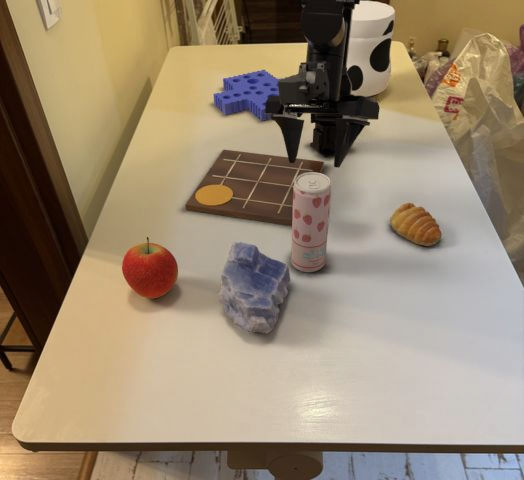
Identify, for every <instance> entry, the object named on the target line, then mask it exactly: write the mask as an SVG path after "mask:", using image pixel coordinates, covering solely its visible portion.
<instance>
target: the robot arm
mask: <svg viewBox="0 0 524 480" xmlns="http://www.w3.org/2000/svg"><path fill="white" fill-rule="evenodd" d="M360 1H361V0H300V5H301V7H302V11H301V14H300V19H299V21H300V28H301V32H302V34H303V35H304V38H305V40H306V42H307V47H306V55H305V56H306V59H305V62H300V65H298V73H296V74H292V75H290V76H286V77H287V78H285V77H284V79H281V78H280V79H281V80H279V81H277V82H278V90H279V96H270V97H269V98H268V99H267V101H266V104H265V114H270V115H273V116H270V120H271V121H275V123H276V124H277V126H278V127H279V129H280V130H281V131H280V132H281V134H282V137H283V141H284V145H285V150H286V155H287V157H288V159H289V162H290V163H295V160H296V158H297V157H298V153H299V148H300V143H301V139H302V135H303V129H304V125H305V119H300V118H301V117H302V116H303V115H304V114H310V124H314V127H313V130H312V131H313V132H312V142H310V143H309V146H310V148H312V149H314V151H315V152H317V153H318V154H319V155H321V156H322V157H324V158H329V157H334V158H333V167H334V168H337V169H338V168H340V167H341V166H342V164H343V162H344V160H345V158H346V157H347V155H348V153H349V152H350V150H351V148H352V147H353V144H354V143H355V142H356V141H357V138H358V137H359V136H360V135H361V133H362V131H363V130H364V128H365V127H366V126H371V120H372V121H373V120H374V121H378V120H379V114H380V104H379V102H378V99H376V98H374V97H371V98H369V97H365V96H354V94H351V92H352V84H351V81H350V79H349V76H348V74H347V59H348V50H349V41H350V32H351V23H352V14H353V10H355V5H356V4H360ZM369 120H370V121H369Z"/></svg>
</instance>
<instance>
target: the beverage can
mask: <svg viewBox="0 0 524 480" xmlns="http://www.w3.org/2000/svg"><path fill="white" fill-rule="evenodd" d="M294 183H295V184H294V187H293V216H292V226H291V252H290V253H291V254H290V255H291V256H290V261H291V264H292V266H293V267H294V268H295V269H297V270H298V271H300V272H303V273H313V272H317V271H319V270H321V269H322V268H323V267H324V266H325V265H326V258H327V245H328V236H329V235H328V233H329V222H330V210H331V198H332V197H331V196H332V180H331V179H330V178H329V177H328V175H326V174H324V173H322V172H321V173H317V172H308V173H303V174H301V175H299V176H298V177H297V178H296V179H295V182H294Z"/></svg>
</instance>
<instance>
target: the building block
mask: <svg viewBox="0 0 524 480" xmlns="http://www.w3.org/2000/svg"><path fill="white" fill-rule="evenodd" d="M287 77H288V76H285V77H284V78H287ZM284 78H282V77H281V78H277V77H276V76H274V75H273V74H271V73H270V72H269V71H266V69H261V70H256V71H252V72H247V73H242V74H237V75H233V76H228V77H225V78H224V77H223V78H222V87H223V90H224V91H221V92H215V93H213V94H212V95H213V105H214V106H215V107H217V109H219V110H220V111H221V112H222V113H223V114H224V116H228V115H232V114H236V113H238V112H243V111H249V112H250V113H251V114H252V115H254V116H255V117H257V119H259V121H260V122H264V121H266V120H267V121H268V120H271V118H270V116H273V115H270V114H265V104H266V101H267V99H268V98H269V97H270V96H279V90H278V82H277V81H279V80H281V79H284Z"/></svg>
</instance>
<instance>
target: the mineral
mask: <svg viewBox="0 0 524 480" xmlns="http://www.w3.org/2000/svg"><path fill="white" fill-rule="evenodd" d="M220 279H221V280H220V281H221V286H220V291H219V292H218V293H217V294H218V295H217V297H218V299H219V302H220V303H221V304H222V306H223V307H224V313H225V315H226V316H227V317H229V319H230V320H232V321H233V323H234V325H237V326H238V327H240V328H241V329H243V330H244V331H245V332H246V333H255V332H258V333H262V334H269V333H270V332H272V330H274V327H275V325H276V323H277V322H278V319H279V314H280V309H279V306H278V305H279V304H280V305H281V304H283V303H284V298H286V297H287V296H288V293H289V291H288V289H287V288H288V285H289V284H290V283H291V281H292V280H291V279H292V278H291V275H290V267H289V265H288V264H287V263H285V262H283V261H280V260H278V259H274V258H272V257H269V256H267V255H266V254H264V253H262V252H261V251H260V250H259V247H258V246H257V245H256V244H251V243H247V242H246V243H245V242H241V241H240V242H232V245H231V246H230V249H229V251H228V256H227V257H226V260H225V263H224V265H223V267H222V271H221V274H220Z"/></svg>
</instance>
